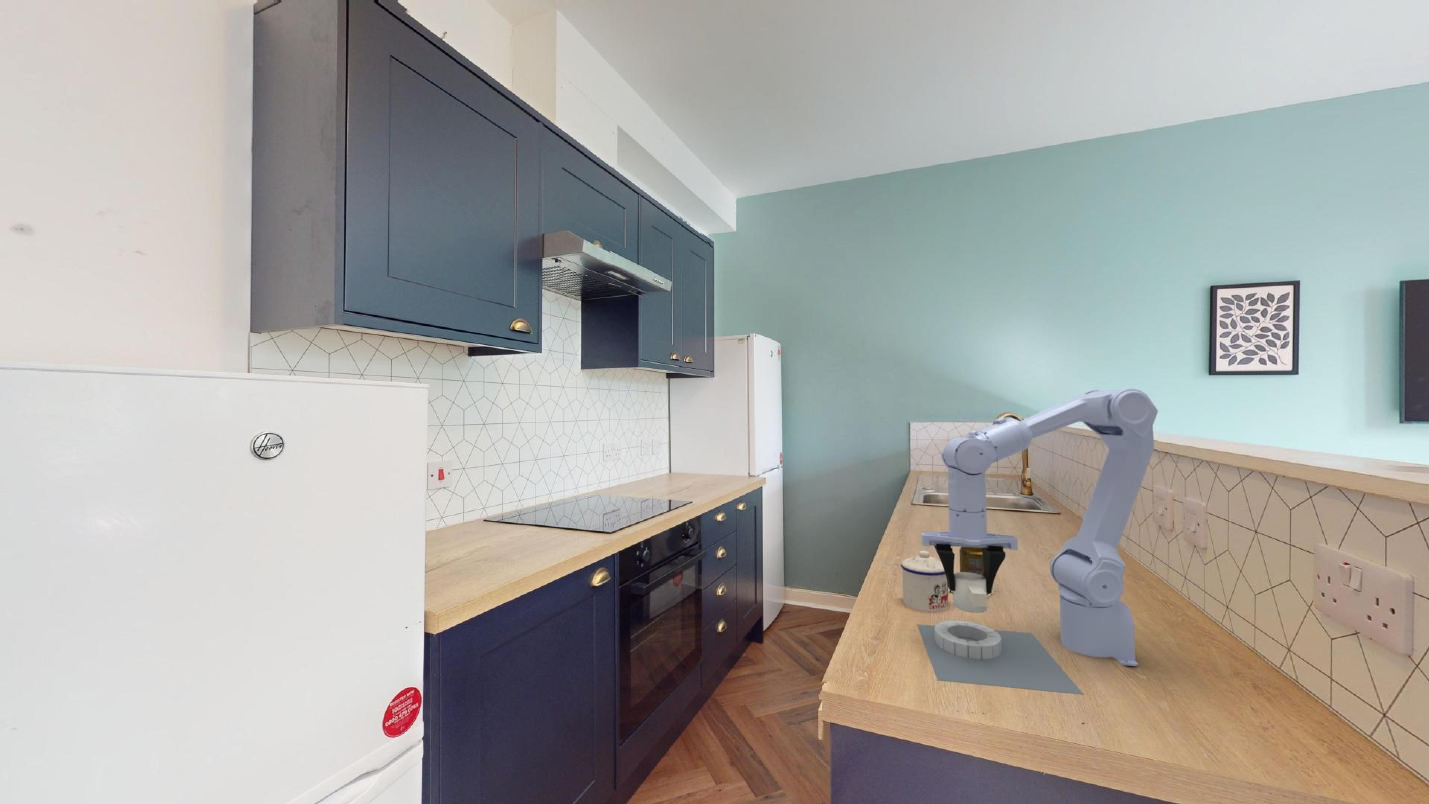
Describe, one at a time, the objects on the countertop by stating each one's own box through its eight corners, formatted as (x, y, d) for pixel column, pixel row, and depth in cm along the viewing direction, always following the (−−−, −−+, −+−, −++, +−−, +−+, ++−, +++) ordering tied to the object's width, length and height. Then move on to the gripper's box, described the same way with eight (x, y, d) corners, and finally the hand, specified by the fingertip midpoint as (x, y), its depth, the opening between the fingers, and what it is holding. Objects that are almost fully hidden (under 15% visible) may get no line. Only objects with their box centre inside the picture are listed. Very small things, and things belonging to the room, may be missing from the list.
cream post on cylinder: (950, 600, 89) (950, 571, 90) (982, 602, 88) (981, 573, 88) (962, 621, 81) (962, 589, 81) (997, 624, 80) (997, 591, 80)
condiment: (997, 590, 115) (996, 536, 115) (984, 601, 109) (982, 544, 109) (963, 583, 120) (962, 531, 120) (948, 592, 114) (947, 538, 114)
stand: (1031, 638, 91) (1030, 621, 91) (1084, 701, 72) (1083, 679, 72) (917, 629, 96) (916, 613, 96) (937, 686, 76) (937, 666, 76)
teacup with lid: (936, 621, 99) (935, 560, 99) (893, 608, 106) (892, 551, 106) (964, 605, 107) (962, 548, 107) (921, 593, 114) (920, 540, 114)
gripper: (925, 512, 85) (927, 595, 85) (1023, 515, 81) (1025, 601, 81) (918, 504, 92) (920, 581, 91) (1009, 506, 88) (1011, 586, 88)
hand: (969, 590), depth 87 cm, fingers closed on cream post on cylinder, 5 cm apart
